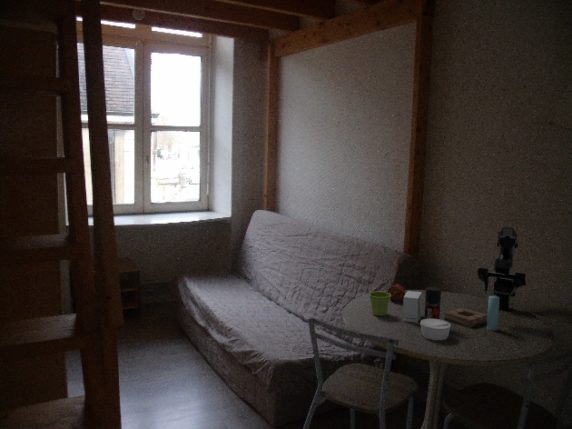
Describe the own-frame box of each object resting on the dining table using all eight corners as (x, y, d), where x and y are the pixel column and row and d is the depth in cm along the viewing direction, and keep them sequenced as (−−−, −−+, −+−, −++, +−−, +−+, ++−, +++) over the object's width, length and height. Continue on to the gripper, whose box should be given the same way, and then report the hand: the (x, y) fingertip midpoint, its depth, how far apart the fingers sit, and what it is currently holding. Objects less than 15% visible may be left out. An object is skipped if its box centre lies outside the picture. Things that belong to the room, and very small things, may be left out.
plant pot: (365, 315, 222) (366, 295, 221) (370, 309, 231) (371, 290, 230) (387, 318, 219) (388, 298, 218) (392, 312, 228) (393, 292, 227)
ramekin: (445, 344, 191) (446, 330, 190) (415, 337, 197) (416, 324, 196) (453, 335, 201) (454, 322, 200) (424, 329, 206) (425, 316, 206)
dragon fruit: (397, 307, 240) (390, 303, 251) (412, 296, 240) (404, 293, 252) (387, 292, 239) (380, 289, 251) (401, 281, 240) (394, 279, 252)
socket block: (461, 314, 226) (461, 307, 226) (486, 322, 217) (487, 315, 216) (444, 319, 219) (444, 312, 218) (469, 327, 209) (470, 320, 209)
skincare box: (406, 313, 226) (407, 290, 225) (421, 315, 223) (422, 292, 222) (401, 321, 216) (403, 296, 215) (417, 323, 214) (419, 298, 212)
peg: (490, 326, 211) (492, 295, 209) (499, 329, 208) (501, 297, 206) (484, 328, 209) (486, 296, 207) (493, 331, 205) (496, 299, 204)
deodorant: (439, 323, 214) (441, 287, 212) (438, 328, 208) (440, 291, 206) (424, 321, 216) (426, 286, 214) (423, 326, 210) (425, 289, 208)
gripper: (479, 248, 220) (471, 279, 212) (527, 253, 210) (521, 286, 202) (482, 263, 227) (475, 293, 220) (529, 269, 218) (523, 301, 210)
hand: (497, 293), depth 212 cm, fingers open, 9 cm apart
